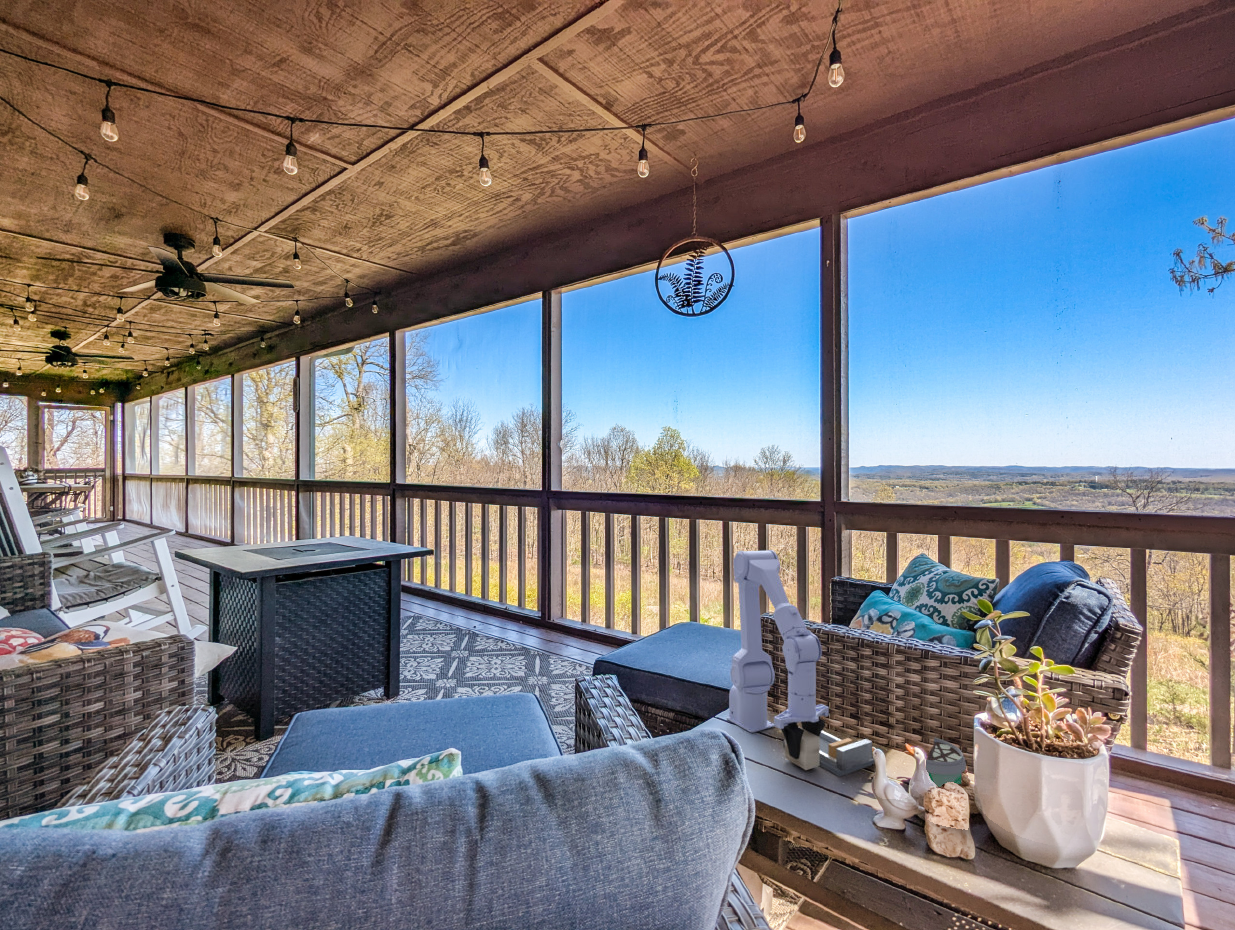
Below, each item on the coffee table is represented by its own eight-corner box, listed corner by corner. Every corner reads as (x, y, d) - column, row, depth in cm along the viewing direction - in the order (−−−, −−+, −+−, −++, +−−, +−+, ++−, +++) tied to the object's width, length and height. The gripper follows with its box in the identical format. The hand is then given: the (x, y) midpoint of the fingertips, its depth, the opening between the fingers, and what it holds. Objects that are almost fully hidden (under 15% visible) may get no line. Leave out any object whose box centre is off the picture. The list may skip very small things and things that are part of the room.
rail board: (783, 745, 133) (783, 723, 133) (816, 735, 138) (816, 714, 138) (839, 776, 119) (839, 752, 119) (874, 764, 124) (874, 740, 124)
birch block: (784, 757, 125) (784, 730, 125) (798, 753, 127) (798, 726, 127) (806, 770, 119) (806, 741, 120) (819, 765, 121) (819, 737, 122)
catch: (828, 758, 124) (828, 744, 124) (848, 751, 127) (848, 737, 127) (832, 760, 123) (832, 746, 123) (852, 753, 126) (852, 740, 126)
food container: (962, 827, 102) (962, 770, 102) (924, 814, 105) (923, 759, 106) (970, 796, 111) (969, 745, 112) (934, 786, 115) (934, 736, 115)
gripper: (791, 703, 116) (791, 771, 116) (839, 691, 123) (840, 754, 123) (766, 692, 123) (766, 756, 122) (814, 681, 130) (814, 741, 129)
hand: (801, 754), depth 123 cm, fingers closed on birch block, 4 cm apart
